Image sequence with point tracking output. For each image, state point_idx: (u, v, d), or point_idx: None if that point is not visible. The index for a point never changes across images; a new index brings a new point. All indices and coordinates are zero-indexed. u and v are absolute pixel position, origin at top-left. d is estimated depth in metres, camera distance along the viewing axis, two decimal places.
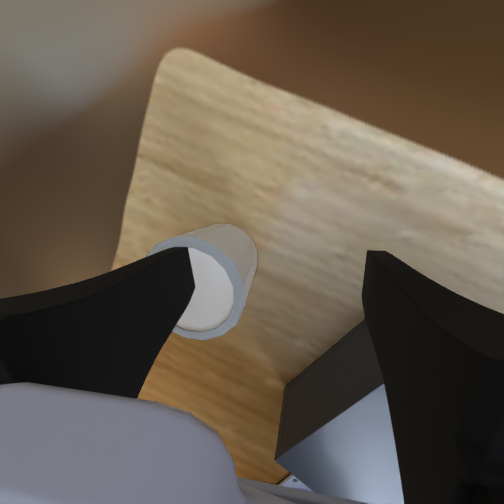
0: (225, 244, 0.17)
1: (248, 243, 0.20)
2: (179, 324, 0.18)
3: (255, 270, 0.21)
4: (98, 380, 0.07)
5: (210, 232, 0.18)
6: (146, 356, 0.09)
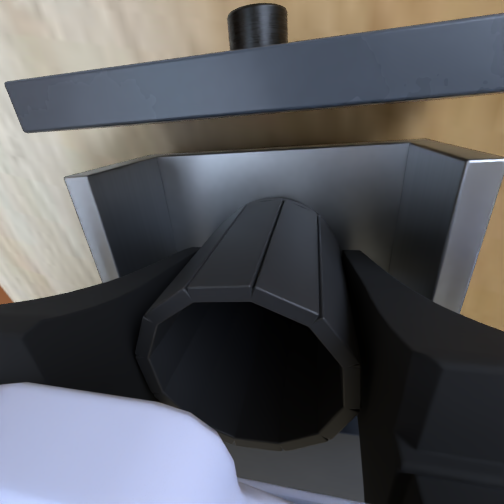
0: None
1: None
2: None
3: None
4: (125, 384, 0.07)
5: None
6: None
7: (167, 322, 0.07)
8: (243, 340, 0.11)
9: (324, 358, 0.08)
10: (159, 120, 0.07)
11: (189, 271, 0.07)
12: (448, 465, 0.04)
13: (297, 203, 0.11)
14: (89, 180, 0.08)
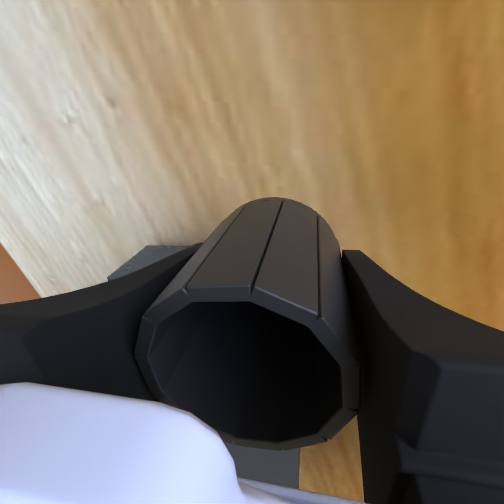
0: None
1: None
2: None
3: None
4: (125, 384, 0.07)
5: None
6: None
7: (166, 322, 0.07)
8: (243, 340, 0.11)
9: (323, 358, 0.08)
10: None
11: (188, 271, 0.07)
12: (447, 465, 0.04)
13: (297, 203, 0.11)
14: None
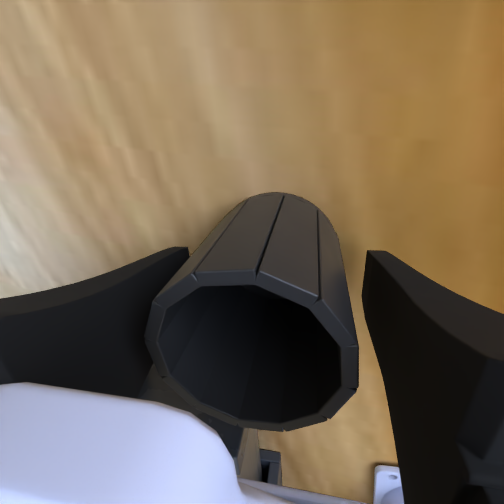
0: None
1: None
2: None
3: None
4: (98, 380, 0.07)
5: None
6: (146, 356, 0.09)
7: (174, 308, 0.08)
8: (245, 330, 0.11)
9: (323, 345, 0.09)
10: None
11: (195, 259, 0.07)
12: None
13: (297, 197, 0.11)
14: None
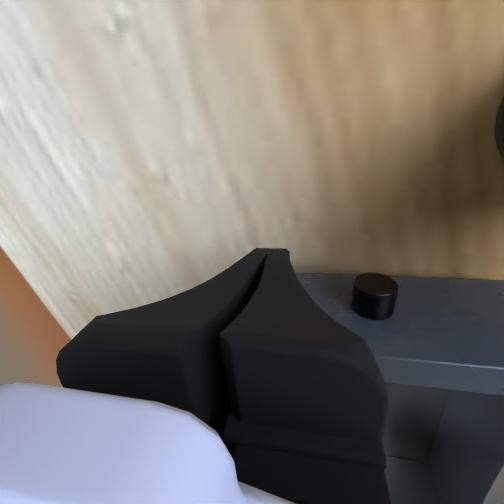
0: None
1: None
2: None
3: None
4: None
5: None
6: None
7: None
8: None
9: None
10: None
11: None
12: (262, 434, 0.04)
13: None
14: None
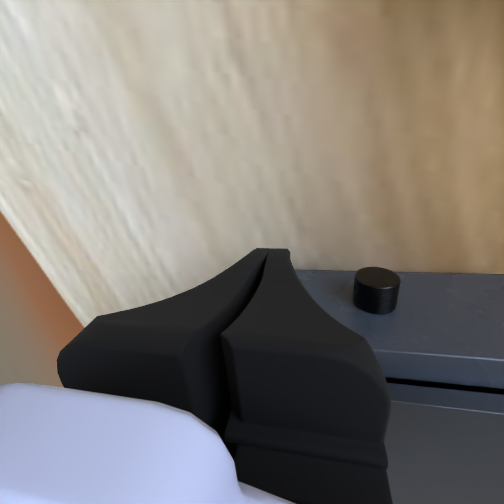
0: None
1: None
2: None
3: None
4: None
5: None
6: None
7: None
8: None
9: None
10: None
11: None
12: (263, 434, 0.04)
13: None
14: None
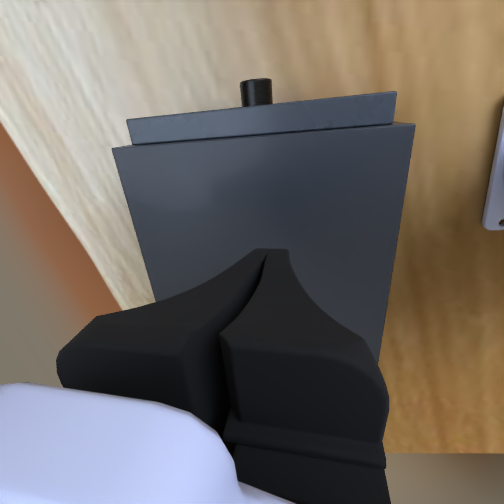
0: None
1: None
2: None
3: None
4: None
5: None
6: None
7: None
8: None
9: None
10: (207, 138, 0.13)
11: None
12: (262, 434, 0.04)
13: None
14: None
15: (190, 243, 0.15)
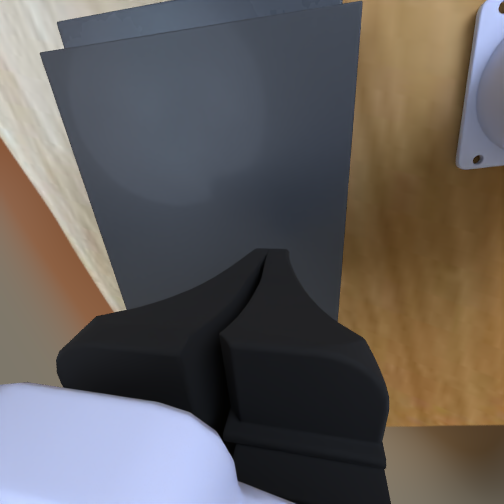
0: None
1: None
2: None
3: None
4: None
5: None
6: None
7: None
8: None
9: None
10: None
11: None
12: (262, 434, 0.04)
13: None
14: None
15: (132, 167, 0.14)
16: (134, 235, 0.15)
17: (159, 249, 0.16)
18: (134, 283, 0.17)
